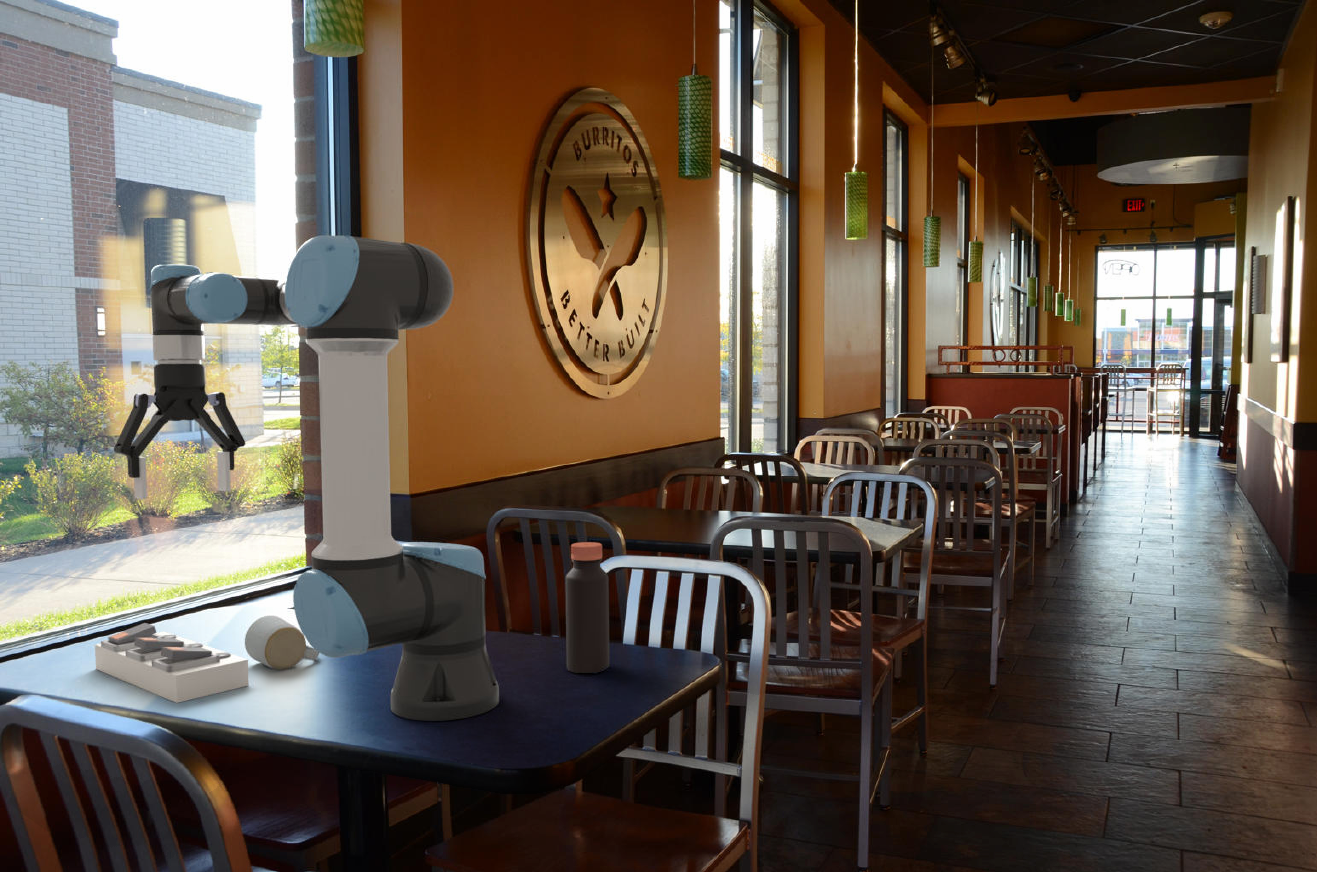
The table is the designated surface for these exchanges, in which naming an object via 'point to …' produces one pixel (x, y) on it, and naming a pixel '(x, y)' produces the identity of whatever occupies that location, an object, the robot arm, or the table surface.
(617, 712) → the table surface
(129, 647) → the white rocker switch box
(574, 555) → the bottle
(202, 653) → the rocker
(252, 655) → the ceramic mug
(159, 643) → the rocker middle
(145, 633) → the rocker
